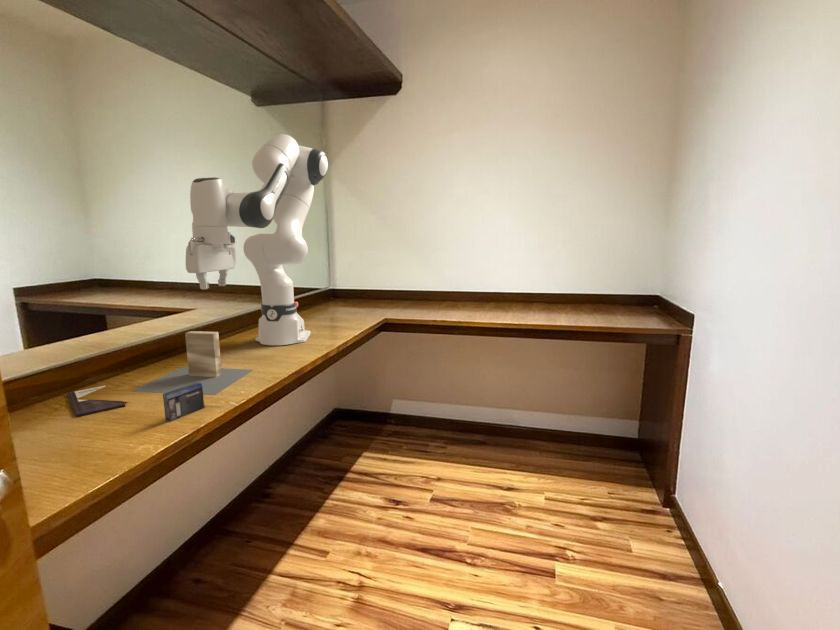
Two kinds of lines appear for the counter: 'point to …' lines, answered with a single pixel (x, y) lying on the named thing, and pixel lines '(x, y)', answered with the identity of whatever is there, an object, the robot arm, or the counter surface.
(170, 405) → the mini dv tape
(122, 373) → the counter surface
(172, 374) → the mat
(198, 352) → the wooden block
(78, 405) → the chocolate bar
